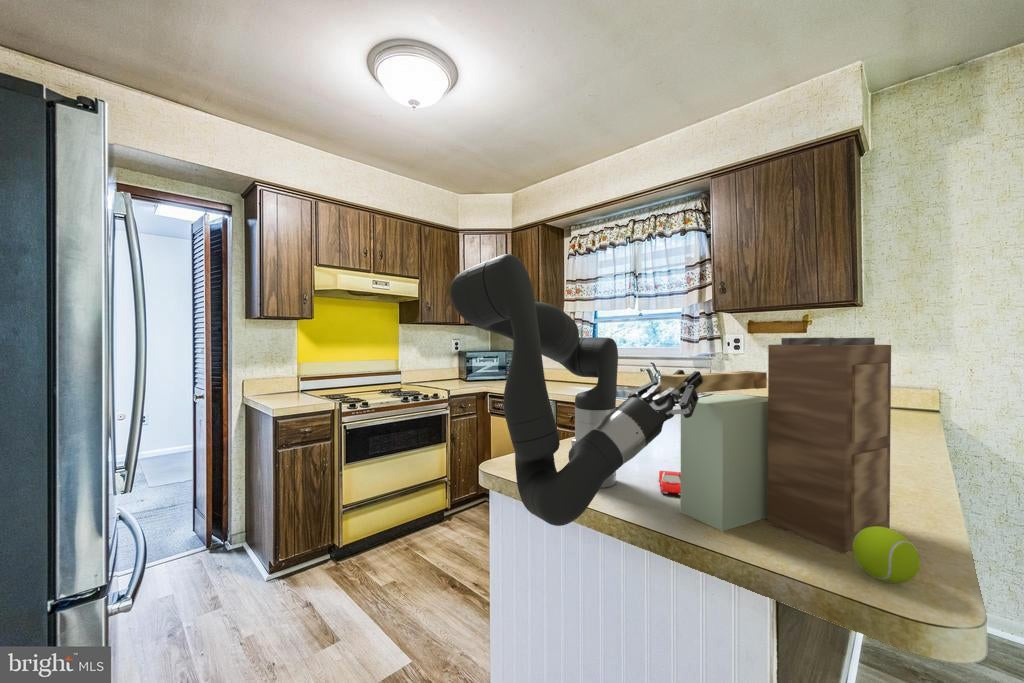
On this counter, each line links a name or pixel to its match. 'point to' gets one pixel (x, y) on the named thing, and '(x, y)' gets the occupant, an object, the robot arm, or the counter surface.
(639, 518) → the counter surface
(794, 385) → the wooden cabinet
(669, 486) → the toy car
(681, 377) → the wooden plank
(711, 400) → the tall sage green block
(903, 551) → the tennis ball
